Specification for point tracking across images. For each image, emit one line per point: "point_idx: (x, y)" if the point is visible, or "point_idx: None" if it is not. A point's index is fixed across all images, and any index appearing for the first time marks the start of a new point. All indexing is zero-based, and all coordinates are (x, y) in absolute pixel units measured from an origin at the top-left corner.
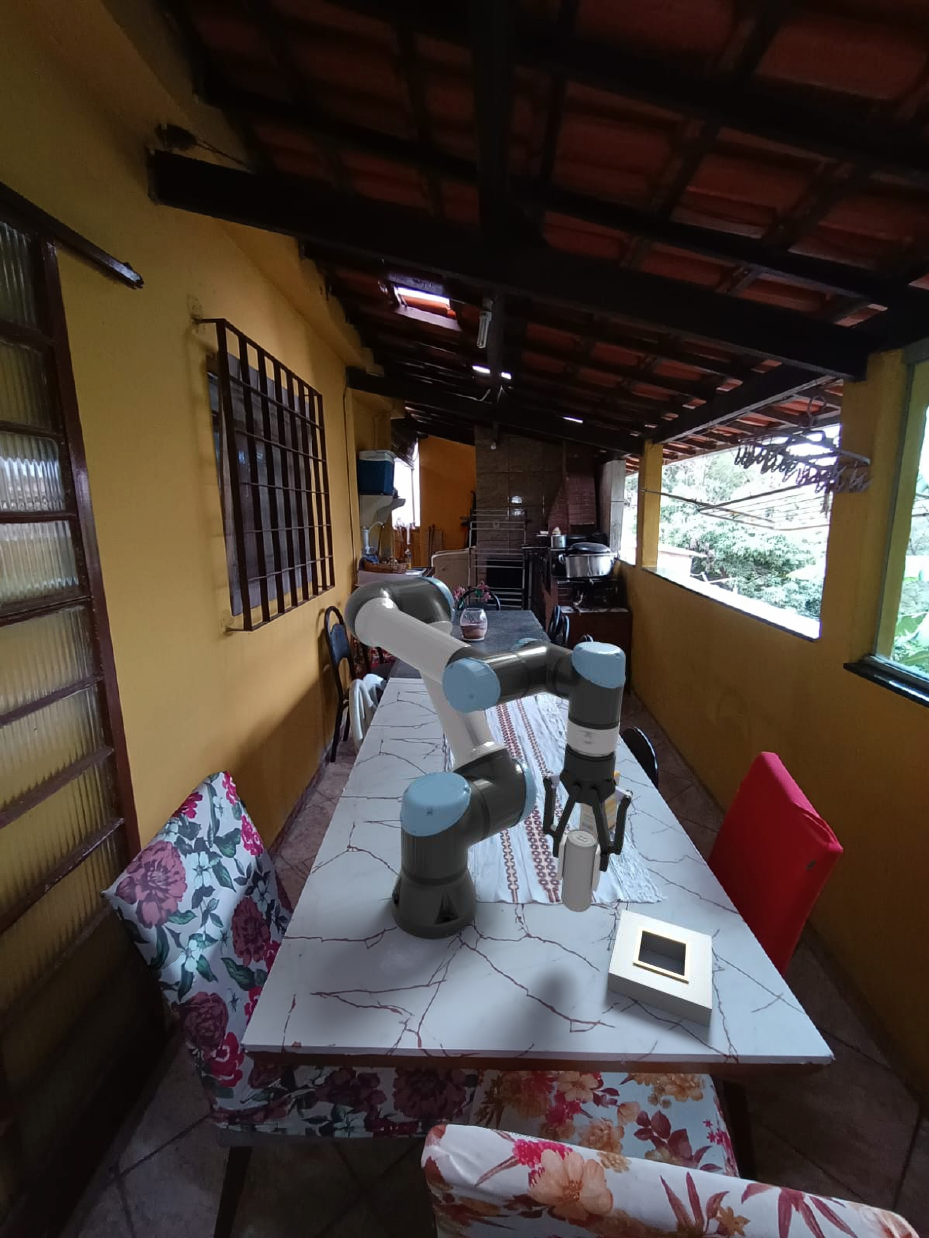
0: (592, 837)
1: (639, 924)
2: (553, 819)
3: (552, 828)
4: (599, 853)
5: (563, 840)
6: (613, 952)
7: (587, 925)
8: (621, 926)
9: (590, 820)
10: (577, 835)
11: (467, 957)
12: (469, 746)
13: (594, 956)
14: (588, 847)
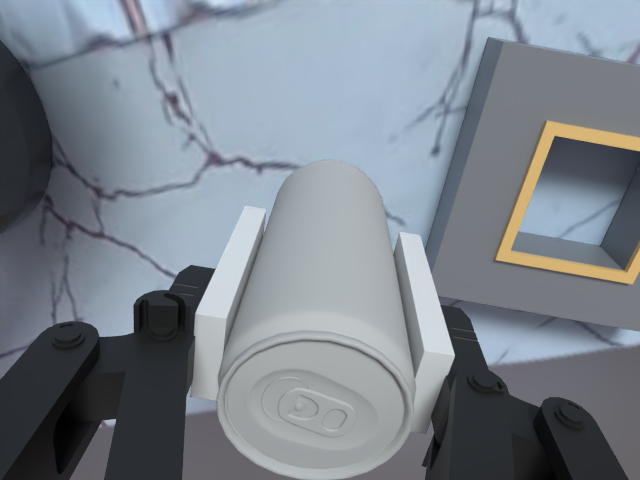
0: (384, 390)
1: (550, 104)
2: (72, 390)
3: (104, 411)
4: (423, 420)
5: (206, 367)
6: (445, 234)
7: (378, 74)
8: (485, 129)
9: None
10: (282, 401)
11: (97, 260)
12: None
13: (395, 185)
14: (357, 469)
